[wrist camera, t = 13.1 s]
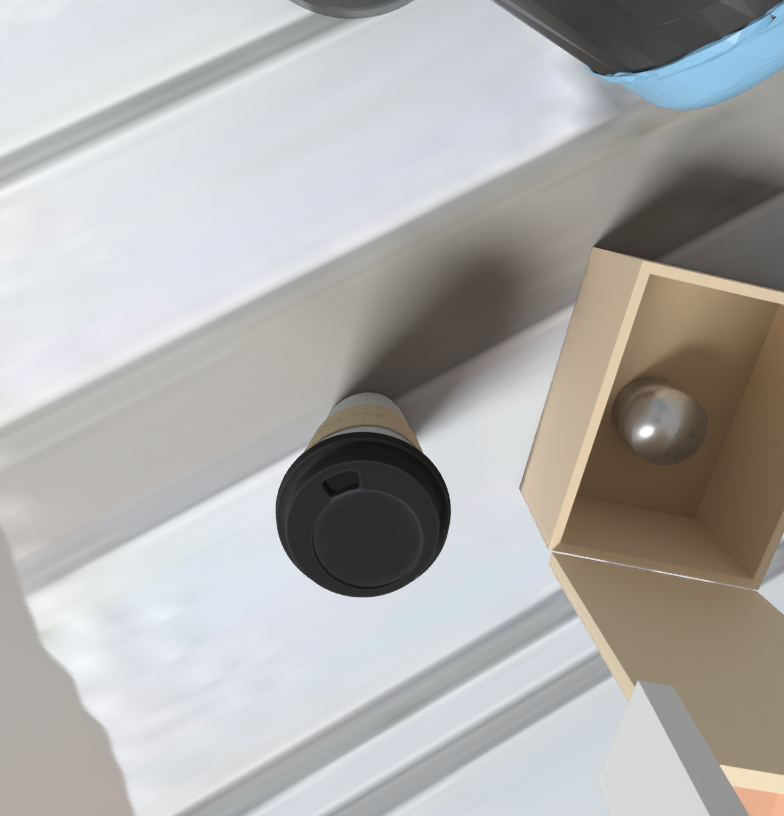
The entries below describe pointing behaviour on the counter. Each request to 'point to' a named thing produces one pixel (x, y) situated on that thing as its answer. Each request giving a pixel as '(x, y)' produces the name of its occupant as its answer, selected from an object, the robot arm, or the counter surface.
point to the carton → (697, 377)
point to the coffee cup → (363, 502)
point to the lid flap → (695, 660)
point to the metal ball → (659, 420)
